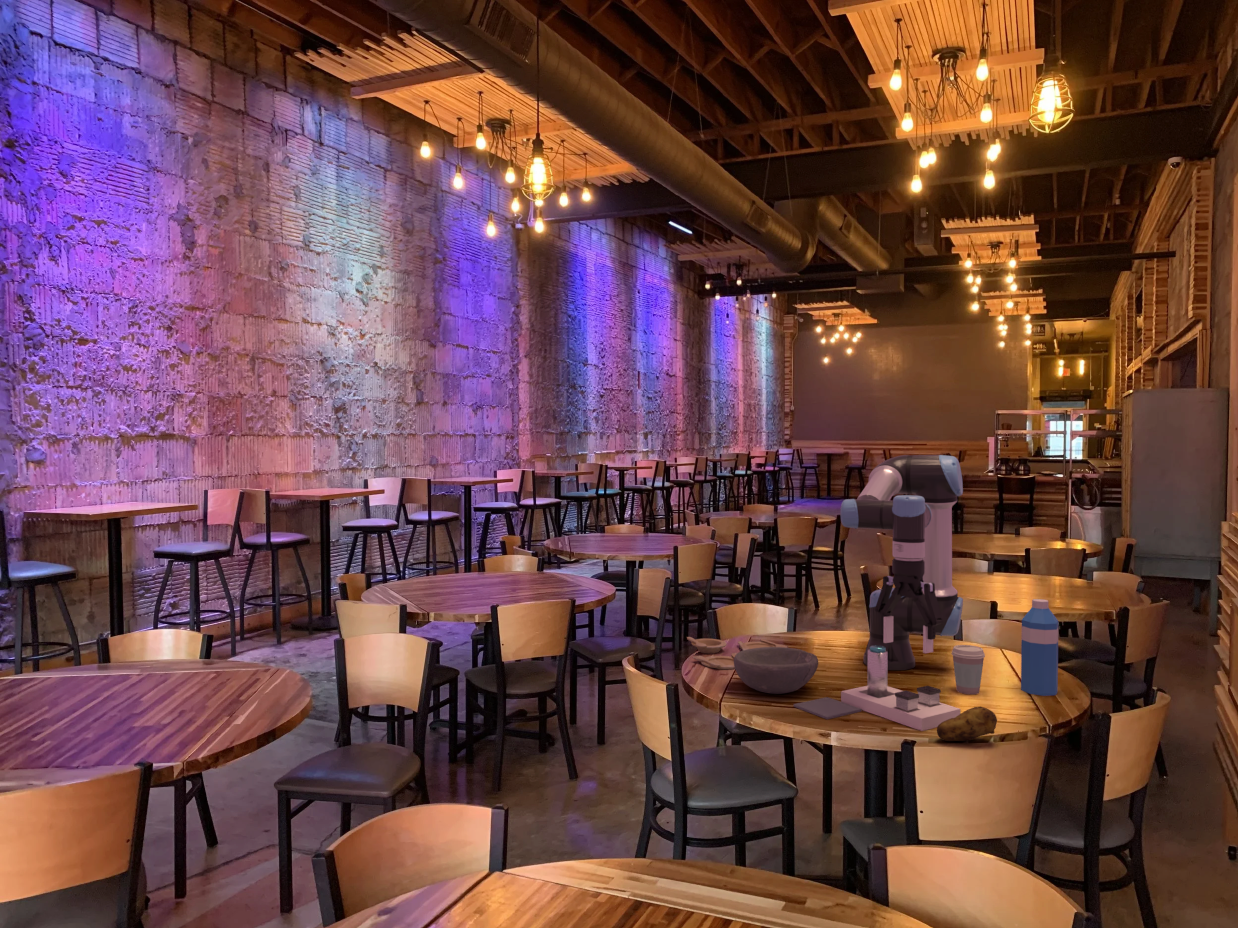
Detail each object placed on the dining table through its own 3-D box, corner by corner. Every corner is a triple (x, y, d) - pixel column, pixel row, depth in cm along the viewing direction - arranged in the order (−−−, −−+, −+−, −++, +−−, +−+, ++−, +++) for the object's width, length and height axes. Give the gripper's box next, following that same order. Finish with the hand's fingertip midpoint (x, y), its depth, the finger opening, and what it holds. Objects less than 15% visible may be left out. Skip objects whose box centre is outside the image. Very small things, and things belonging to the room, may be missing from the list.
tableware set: (704, 672, 257) (704, 659, 257) (675, 649, 286) (675, 637, 286) (812, 665, 266) (812, 652, 265) (773, 643, 294) (773, 631, 294)
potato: (936, 732, 203) (936, 698, 203) (995, 738, 199) (995, 704, 199) (936, 744, 196) (937, 709, 195) (998, 750, 191) (999, 715, 191)
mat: (793, 706, 223) (793, 704, 223) (827, 699, 229) (827, 696, 229) (827, 719, 213) (827, 716, 213) (861, 711, 219) (861, 708, 219)
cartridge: (863, 703, 226) (863, 646, 225) (876, 700, 228) (876, 644, 228) (878, 708, 222) (878, 650, 221) (891, 705, 224) (891, 647, 224)
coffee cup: (983, 688, 239) (983, 645, 239) (985, 697, 231) (986, 652, 231) (950, 685, 242) (950, 643, 241) (951, 694, 234) (952, 650, 233)
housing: (841, 702, 227) (841, 691, 226) (878, 694, 234) (878, 683, 234) (921, 730, 204) (922, 718, 204) (960, 720, 212) (960, 708, 211)
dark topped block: (916, 701, 217) (916, 687, 216) (927, 698, 219) (927, 685, 219) (929, 705, 213) (930, 691, 213) (940, 702, 215) (940, 689, 215)
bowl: (765, 673, 254) (766, 640, 254) (832, 689, 238) (833, 653, 238) (716, 689, 238) (716, 654, 238) (784, 707, 222) (784, 669, 222)
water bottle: (1062, 696, 231) (1063, 604, 230) (1025, 694, 233) (1026, 602, 232) (1052, 686, 240) (1053, 597, 239) (1016, 685, 242) (1017, 596, 241)
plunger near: (894, 706, 212) (895, 692, 212) (905, 703, 214) (906, 690, 214) (907, 710, 209) (908, 696, 209) (919, 708, 211) (919, 694, 211)
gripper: (860, 554, 219) (860, 639, 220) (938, 565, 199) (938, 659, 199) (881, 552, 223) (880, 635, 223) (960, 563, 203) (959, 655, 203)
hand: (907, 647), depth 211 cm, fingers open, 11 cm apart
